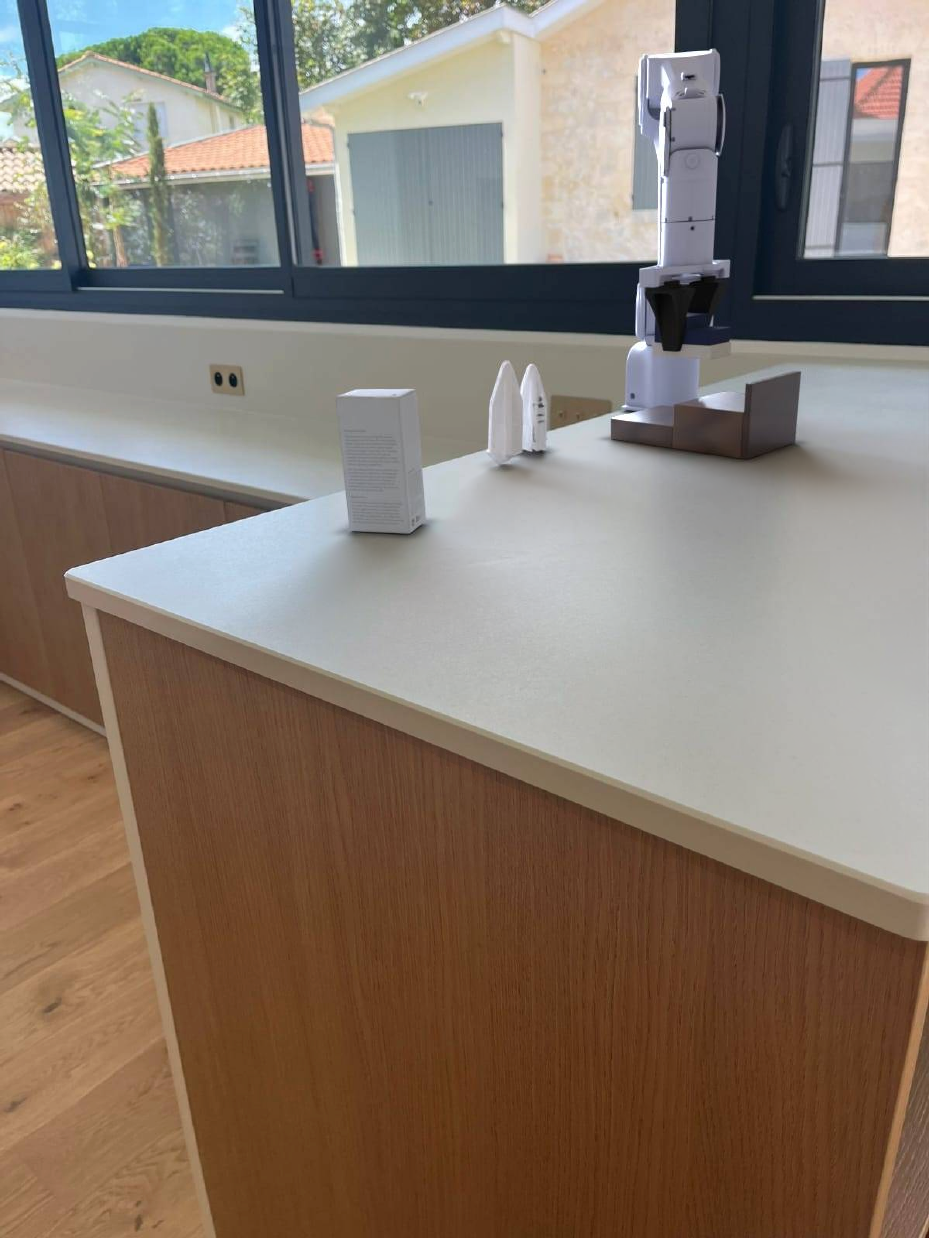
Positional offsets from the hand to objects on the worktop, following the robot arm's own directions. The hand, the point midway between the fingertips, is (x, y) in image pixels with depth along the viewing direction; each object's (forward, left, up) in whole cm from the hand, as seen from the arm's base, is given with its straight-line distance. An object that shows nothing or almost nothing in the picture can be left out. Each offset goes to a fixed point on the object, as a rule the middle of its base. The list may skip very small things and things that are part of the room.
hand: (683, 348), depth 109 cm
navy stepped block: (+1, 0, -1) cm, 1 cm away
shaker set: (-8, -19, -10) cm, 23 cm away
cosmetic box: (+1, -45, -10) cm, 46 cm away
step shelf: (+3, 0, -10) cm, 11 cm away
